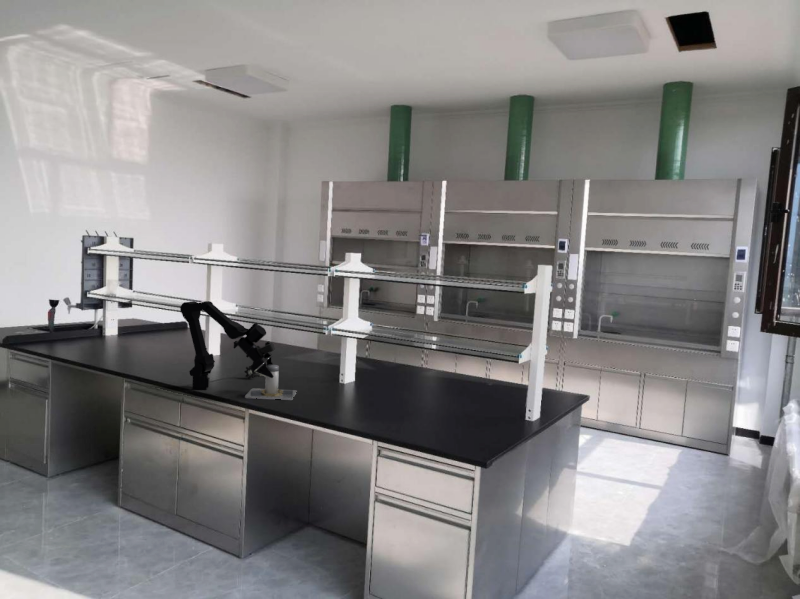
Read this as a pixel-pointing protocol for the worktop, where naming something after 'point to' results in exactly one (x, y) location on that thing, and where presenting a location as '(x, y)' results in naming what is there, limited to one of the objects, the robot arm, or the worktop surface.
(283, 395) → the shaft mount
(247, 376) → the valve
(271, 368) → the domed cap cylinder
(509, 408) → the worktop surface
